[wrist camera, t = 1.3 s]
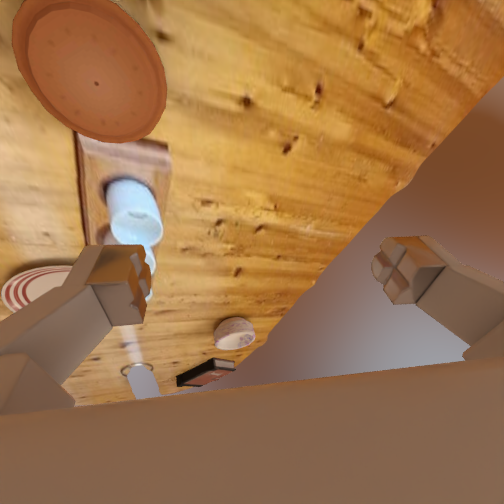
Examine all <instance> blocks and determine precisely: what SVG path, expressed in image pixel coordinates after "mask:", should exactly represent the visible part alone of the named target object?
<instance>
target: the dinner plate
mask: <svg viewBox="0 0 504 504" xmlns="http://www.w3.org/2000/svg"><path fill="white" fill-rule="evenodd" d="M72 267H73V266H46V267H39V268H34V269H30V270H27V271H24V272H21V273H19V274H17V275H15V276H13V277H12V278H10V279H9V280H8V281H7V282H6V283H5V284H4V285H3V287H2V290H1V297H2V300H3V302H4V304H5V305H6V306H7V307H8V308H9V309H10V310H11V311H12V312H14V313H15V312H17V311H18V310H20V309H21V308H23V307H24V306H26V305H27V304H29V303H31V302H32V301H34V300H35V299H37V298H38V297H40V296H41V295H43V294H45V293H46V292H48V291H49V290H51V289H52V288H54V287H58V286H62V284H63V283H64V281H65V279H66V277H67V276H68V274H69V272H70V271H71V269H72Z"/></svg>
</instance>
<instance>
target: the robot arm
mask: <svg viewBox="0 0 504 504" xmlns="http://www.w3.org/2000/svg"><path fill="white" fill-rule="evenodd" d="M380 249H381V251H380V252H379V253H378V254H377V255H375V256H374V258H373V260H372V264H371V270H372V273H373V276H374V277H375V279H376V280H377V281H378V282H380V283H381V284H383V285H384V288H383V290H384V292H385V293H386V294H387V296H388V297H389V299H390V300H391V302H392V303H393V305H394V304H395V305H396V304H416V306H418V307H419V308H420V309H422V310H423V311H424V312H426V313H427V314H428V315H430V316H431V317H432V318H434V319H435V320H436V321H438V322H439V323H441V324H442V325H444V326H445V327H446V328H447V329H448V330H450V331H451V332H453V333H454V334H455V335H457V336H458V337H459V338H461V339H462V340H463V341H465V342H466V343H467V344H469V345H470V346H471V347H470V348H469V349H467V350H466V351H465V352H463V356H462V357H463V358H464V359H465V361H459V362H450V363H442V364H433V365H425V366H416V367H408V368H400V369H391V370H382V371H374V372H365V373H357V374H349V375H340V376H331V377H323V378H315V379H307V380H297V381H289V382H281V383H272V384H264V385H255V386H247V387H238V388H230V389H221V390H213V391H204V392H197V393H188V394H179V395H171V396H163V397H154V398H145V399H137V400H129V401H120V402H112V403H103V404H95V405H87V406H78V407H74V405H75V402H76V401H75V400H74V398H73V397H72V396H71V395H70V394H69V393H68V392H67V391H66V390H65V389H64V388H63V387H62V386H61V385H62V384H63V382H64V381H65V380H66V379H67V378H68V377H69V376H70V375H71V374H72V373H73V371H74V370H75V369H76V368H77V367H78V366H79V365H80V364H81V363H82V361H83V360H84V359H85V358H86V357H87V356H88V355H89V354H90V353H91V351H92V350H93V349H94V348H95V347H96V346H97V345H98V344H99V343H100V342H101V340H102V339H103V338H104V337H105V336H106V335H107V334H108V333H109V332H110V330H111V329H112V327H113V326H123V325H132V324H142V323H143V320H144V316H145V312H146V307H147V304H146V301H145V297H146V296H148V295H149V294H150V288H151V272H150V267H149V265H148V264H147V263H145V262H144V261H145V257H146V253H145V250H144V246H142V245H88V246H86V247H84V248H83V250H82V252H81V253H80V255H79V257H78V259H77V260H76V262H75V264H74V265H73V267H72V269H71V271H70V272H69V274H68V276H67V277H66V279H65V281H64V283H63V284H62V286H58V287H54V288H52V289H51V290H49V291H48V292H46V293H45V294H43V295H41V296H40V297H38V298H37V299H35V300H34V301H32V302H31V303H29V304H27V305H26V306H24V307H23V308H21V309H20V310H18V311H17V312H15V313H13V314H12V315H10V316H9V317H7V318H6V319H4V320H3V321H1V322H0V504H504V282H503V281H501V280H499V279H496V278H494V277H492V276H490V275H488V274H485V273H483V272H481V271H479V270H477V269H474V268H472V267H470V266H464V265H462V264H461V263H460V262H459V261H458V260H457V259H456V258H455V257H453V256H452V255H451V254H450V253H449V252H448V251H447V250H446V249H444V248H443V247H442V246H441V245H440V244H439V243H438V242H436V241H435V240H434V239H433V238H432V237H430V236H427V235H425V236H424V235H423V236H412V237H387V238H385V239H384V240H383V241H382V243H381V245H380Z"/></svg>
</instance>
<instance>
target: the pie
mask: <svg viewBox="0 0 504 504" xmlns="http://www.w3.org/2000/svg"><path fill="white" fill-rule="evenodd" d="M12 47H13V51H14V54H15V58H16V62H17V65H18V69H19V71H20V72H21V74H22V76H23V77H24V79H25V81H26V82H27V84H28V86H29V87H30V89H31V91H32V92H33V94H34V95H35V96H36V97H37V99H38V100H39V101H40V102H41V104H42V105H43V106H44V107H45V109H46V110H47V111H48V112H49V113H50V114H52V115H53V116H54V117H55V118H57V119H58V120H59V121H60V122H62V123H63V124H64V125H65V126H67V127H69V128H71V129H73V130H74V131H76V132H78V133H80V134H82V135H84V136H86V137H89V138H92V139H95V140H98V141H101V142H107V143H125V142H131V141H137V140H139V139H141V138H143V137H145V136H147V135H149V134H150V133H151V132H152V130H153V129H154V127H155V126H156V124H157V123H158V122H159V120H160V118H161V115H162V113H163V111H164V109H165V107H166V96H167V85H166V79H165V72H164V67H163V65H162V63H161V60H160V58H159V55H158V53H157V51H156V48H155V46H154V44H153V43H152V42H151V40H150V39H149V38H148V36H147V35H146V34H145V32H144V31H143V30H142V28H141V27H140V26H139V25H138V24H137V23H136V22H135V21H134V20H133V19H132V18H131V17H130V16H129V15H128V14H127V13H126V12H124V11H123V10H122V9H121V8H120V7H119V6H118V5H117V4H115V3H113V2H111V1H109V0H25V1H24V2H23V3H22V5H21V7H20V9H19V10H18V12H17V14H16V16H15V17H14V19H13V28H12Z"/></svg>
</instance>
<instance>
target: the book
mask: <svg viewBox="0 0 504 504" xmlns="http://www.w3.org/2000/svg"><path fill="white" fill-rule="evenodd" d="M234 363H235V362H234V361H229V360H223V359H217V358H212V359H210V360H208V361H207V362H205V363H203V364H201V365H199V366H197V367H195V368H193V369H191V370H189V371H187V372H185V373H183V374H180V375H178V376H176V378H177V387H182V386H194V387H195V386H196V387H201V386H203V385H205V384H207V383H209V382H212V381H216V380H219V378H220V377H222V376H224V375H227V374H229V373H231V372H233V371H235V370H236V369H234Z"/></svg>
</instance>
